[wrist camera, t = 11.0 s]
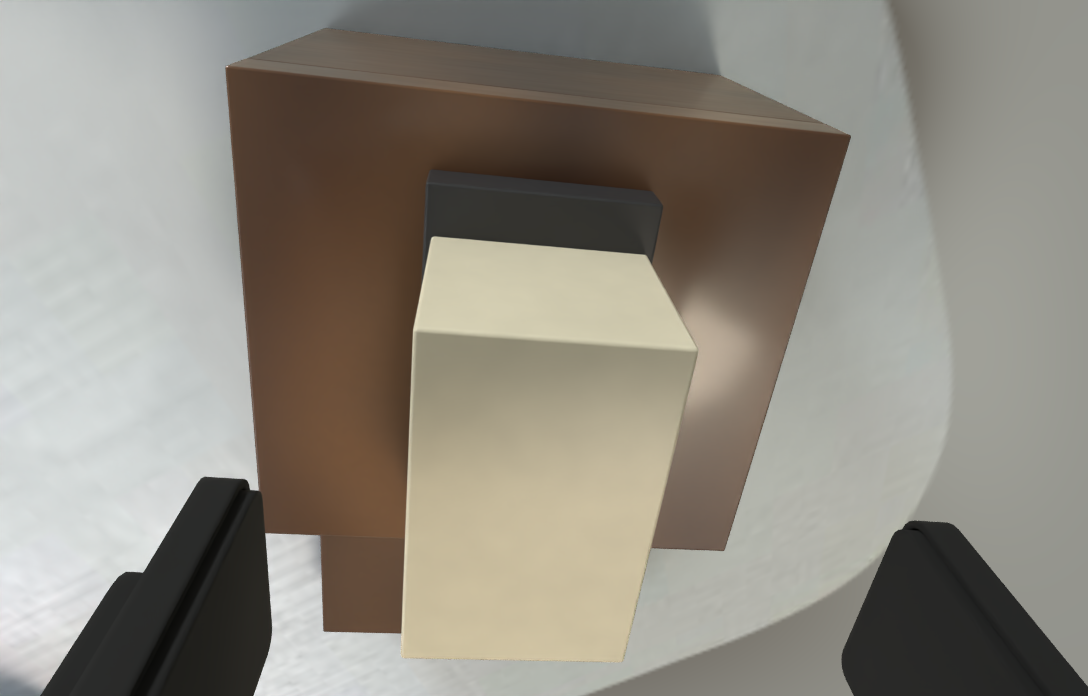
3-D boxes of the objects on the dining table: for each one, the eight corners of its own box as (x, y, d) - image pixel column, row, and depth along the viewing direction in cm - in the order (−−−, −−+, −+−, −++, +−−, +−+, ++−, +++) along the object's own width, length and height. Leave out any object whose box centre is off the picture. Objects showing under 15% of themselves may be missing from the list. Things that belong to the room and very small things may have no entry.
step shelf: (722, 75, 22) (852, 135, 14) (609, 593, 32) (649, 796, 24) (323, 27, 21) (223, 64, 13) (334, 584, 31) (282, 798, 23)
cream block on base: (654, 190, 15) (726, 287, 10) (595, 501, 18) (629, 671, 14) (429, 168, 14) (403, 260, 10) (414, 492, 18) (391, 666, 13)
